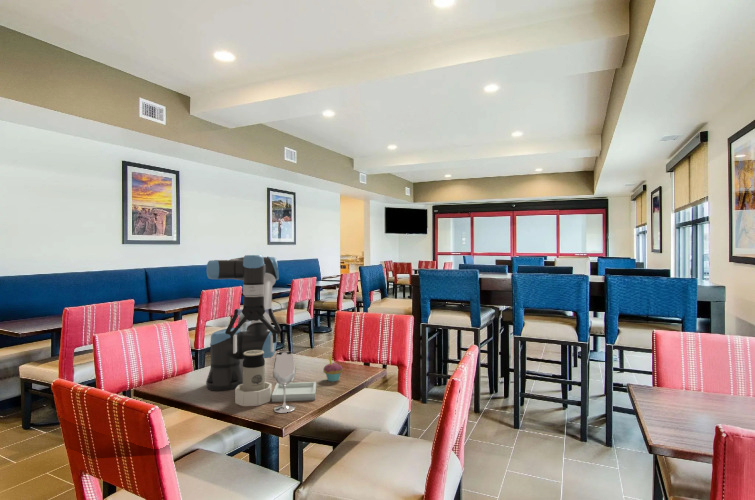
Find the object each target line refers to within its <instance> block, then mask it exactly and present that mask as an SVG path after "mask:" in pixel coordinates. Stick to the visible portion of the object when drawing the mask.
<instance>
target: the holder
mask: <svg viewBox="0 0 755 500" xmlns="http://www.w3.org/2000/svg"><path fill="white" fill-rule="evenodd" d="M234 390H235V392H234V395H235V396H234V398H235V399H234V401H235V404H237V405H239V406H241V407H255V406H256V407H257V406H261V405H264V404H267V403H270V402H271V401H272V393H273V383H271V382H268V381H265V389H263V390H260V391H250V392H244V391H243V384H240V385H238V386H237V388H235V389H234Z"/></svg>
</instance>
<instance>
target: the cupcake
mask: <svg viewBox="0 0 755 500" xmlns="http://www.w3.org/2000/svg"><path fill="white" fill-rule="evenodd" d="M328 359H329V363H328V364H326V365H325V366H324V367H323V373H324V374H325V375H326V378H327V381H328V382H338V381H339V380H340V377H341V374H342V373H343V372H344V369H343V366H342V365H341V364H339V363H338V362H332V356H331V354H330V353H328Z"/></svg>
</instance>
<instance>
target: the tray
mask: <svg viewBox="0 0 755 500" xmlns="http://www.w3.org/2000/svg"><path fill="white" fill-rule="evenodd" d="M316 392H317V381H302V382H301V381H300V382H299V381H298V382H291V383H289V384H288V385H286V392H285V402H293V401H294V402H299V401H316ZM271 402H273V403H277V402H278V403H279V402H283V386H282V385H280V384H278V383H277V382H276V384H275V386H274V389H273V390H272V398H271Z"/></svg>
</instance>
